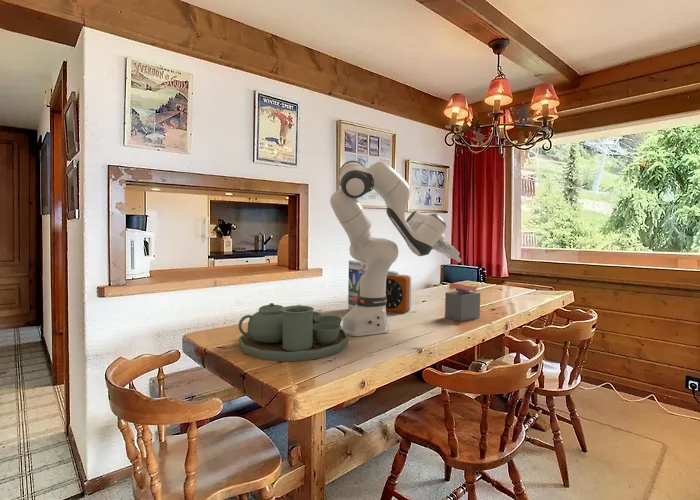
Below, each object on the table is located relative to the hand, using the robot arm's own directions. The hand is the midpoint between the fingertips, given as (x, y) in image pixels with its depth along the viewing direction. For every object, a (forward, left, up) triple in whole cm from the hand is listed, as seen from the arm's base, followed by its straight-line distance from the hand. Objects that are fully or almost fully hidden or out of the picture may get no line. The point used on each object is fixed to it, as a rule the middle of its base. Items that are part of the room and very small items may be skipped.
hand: (455, 259), depth 185 cm
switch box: (+11, +5, -29) cm, 32 cm away
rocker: (+11, +5, -17) cm, 20 cm away
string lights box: (-21, +43, -29) cm, 56 cm away
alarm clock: (-7, +36, -29) cm, 47 cm away
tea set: (-75, +10, -30) cm, 82 cm away
